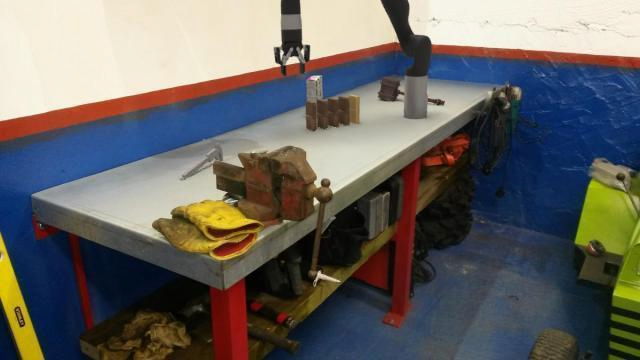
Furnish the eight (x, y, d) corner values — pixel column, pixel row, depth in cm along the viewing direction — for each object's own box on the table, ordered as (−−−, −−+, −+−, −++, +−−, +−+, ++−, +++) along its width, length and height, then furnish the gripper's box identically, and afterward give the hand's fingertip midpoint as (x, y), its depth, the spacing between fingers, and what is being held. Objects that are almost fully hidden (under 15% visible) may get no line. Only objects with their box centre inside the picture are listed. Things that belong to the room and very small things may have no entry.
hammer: (382, 95, 253) (386, 75, 248) (443, 114, 238) (449, 94, 234) (376, 97, 247) (380, 77, 243) (438, 117, 233) (444, 96, 229)
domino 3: (331, 124, 205) (331, 97, 201) (338, 127, 200) (338, 99, 197) (327, 124, 204) (327, 97, 200) (334, 127, 200) (334, 99, 196)
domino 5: (352, 120, 209) (352, 94, 206) (359, 123, 205) (359, 96, 201) (348, 121, 209) (348, 94, 205) (355, 124, 204) (355, 96, 200)
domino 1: (310, 127, 200) (309, 100, 196) (317, 130, 196) (316, 102, 192) (306, 128, 199) (305, 100, 195) (312, 131, 195) (312, 103, 191)
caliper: (220, 160, 164) (218, 141, 162) (223, 160, 164) (221, 142, 162) (179, 180, 147) (177, 160, 145) (182, 181, 146) (180, 160, 144)
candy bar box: (312, 112, 226) (311, 75, 220) (323, 112, 225) (322, 75, 219) (306, 118, 215) (305, 79, 210) (318, 118, 214) (317, 79, 209)
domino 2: (321, 126, 202) (320, 98, 199) (328, 128, 198) (327, 100, 194) (317, 126, 202) (316, 99, 198) (324, 129, 197) (323, 101, 193)
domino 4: (342, 122, 207) (342, 95, 203) (349, 125, 203) (349, 97, 199) (338, 123, 206) (338, 96, 202) (345, 125, 202) (345, 98, 198)
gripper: (304, 26, 187) (305, 71, 193) (268, 28, 181) (271, 75, 186) (314, 27, 181) (315, 74, 187) (277, 29, 175) (280, 77, 180)
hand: (293, 74), depth 187 cm, fingers open, 6 cm apart
